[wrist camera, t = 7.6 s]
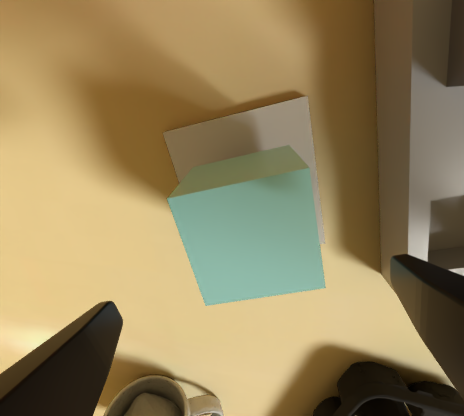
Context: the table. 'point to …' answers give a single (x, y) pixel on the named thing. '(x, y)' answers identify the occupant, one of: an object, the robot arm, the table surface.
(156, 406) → the ceramic mug
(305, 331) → the table surface
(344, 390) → the egg carton
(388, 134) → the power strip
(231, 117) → the mat
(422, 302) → the robot arm
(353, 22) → the table surface
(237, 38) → the table surface
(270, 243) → the green block
